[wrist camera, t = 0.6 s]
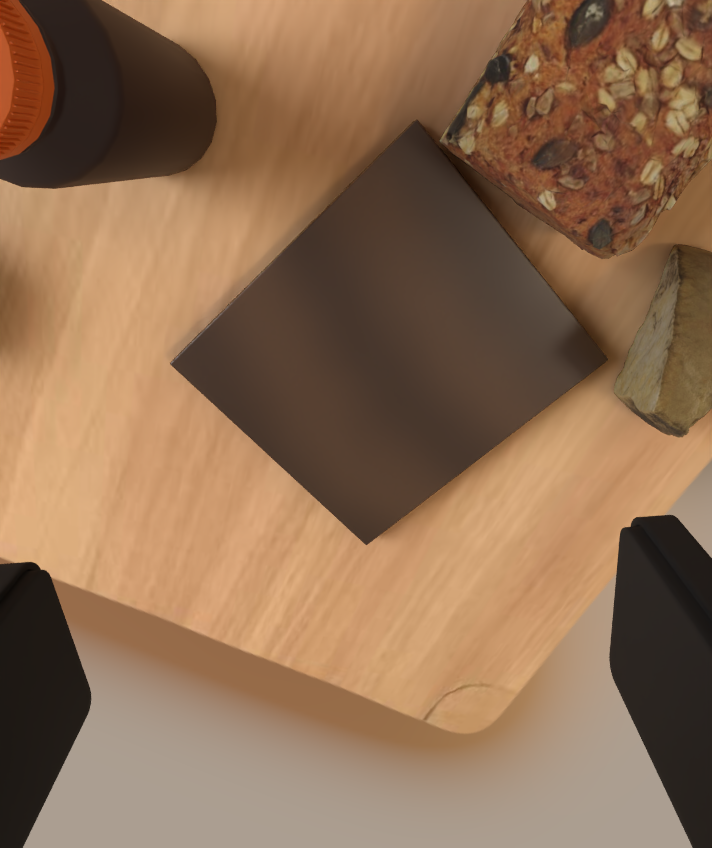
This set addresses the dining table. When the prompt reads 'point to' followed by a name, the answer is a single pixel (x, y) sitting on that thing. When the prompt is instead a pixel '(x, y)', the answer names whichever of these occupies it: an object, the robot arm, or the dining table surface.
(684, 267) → the rock
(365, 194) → the serving board
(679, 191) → the bread
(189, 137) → the vinegar
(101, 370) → the dining table surface
